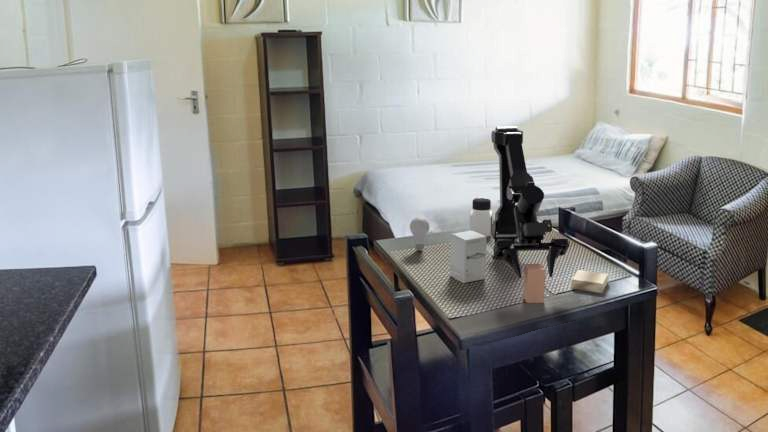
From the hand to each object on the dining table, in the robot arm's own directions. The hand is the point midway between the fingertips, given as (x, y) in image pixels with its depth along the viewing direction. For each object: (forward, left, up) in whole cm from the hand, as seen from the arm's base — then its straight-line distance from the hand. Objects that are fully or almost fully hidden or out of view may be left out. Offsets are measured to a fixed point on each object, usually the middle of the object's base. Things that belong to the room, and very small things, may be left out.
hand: (535, 277), depth 179 cm
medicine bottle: (-33, +51, -7) cm, 61 cm away
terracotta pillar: (-1, +1, -7) cm, 7 cm away
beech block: (+10, +17, -7) cm, 21 cm away
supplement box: (-22, +9, -7) cm, 25 cm away
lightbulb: (-44, +25, -7) cm, 51 cm away
